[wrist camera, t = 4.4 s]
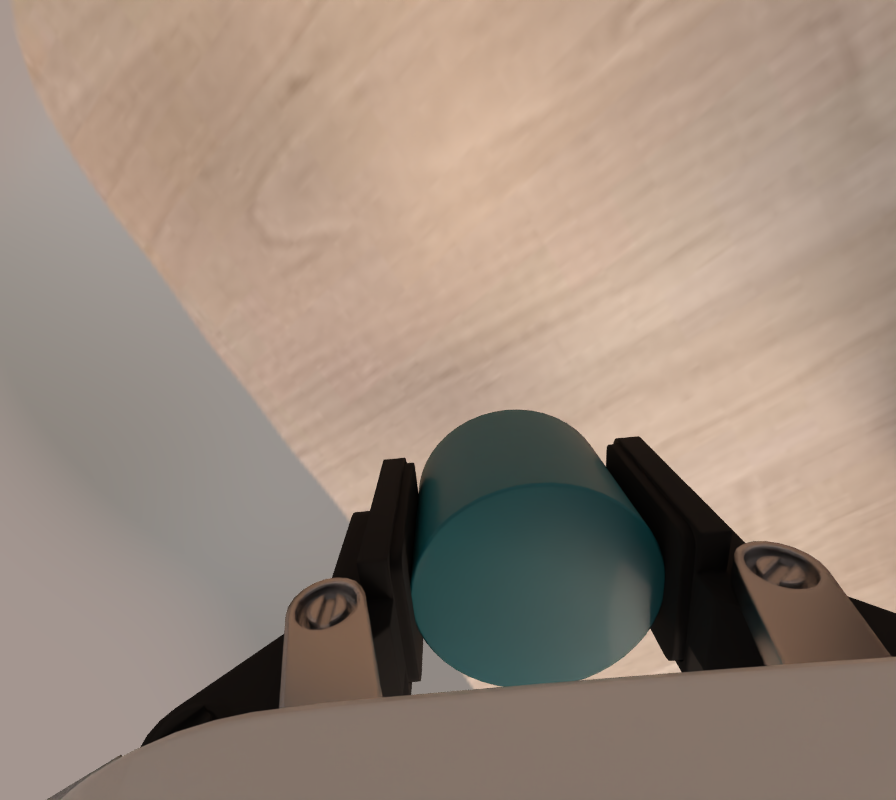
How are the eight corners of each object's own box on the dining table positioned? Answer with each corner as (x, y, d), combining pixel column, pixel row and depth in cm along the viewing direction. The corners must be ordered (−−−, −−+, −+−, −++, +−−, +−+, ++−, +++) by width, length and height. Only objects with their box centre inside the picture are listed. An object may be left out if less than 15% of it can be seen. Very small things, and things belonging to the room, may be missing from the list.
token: (408, 418, 11) (392, 496, 8) (604, 399, 11) (676, 471, 8) (429, 576, 13) (424, 699, 9) (601, 562, 13) (658, 680, 9)
